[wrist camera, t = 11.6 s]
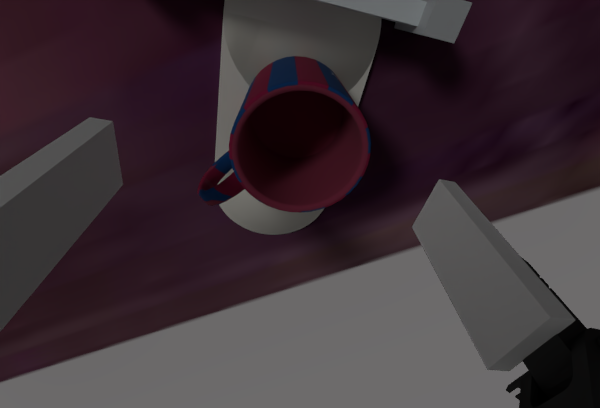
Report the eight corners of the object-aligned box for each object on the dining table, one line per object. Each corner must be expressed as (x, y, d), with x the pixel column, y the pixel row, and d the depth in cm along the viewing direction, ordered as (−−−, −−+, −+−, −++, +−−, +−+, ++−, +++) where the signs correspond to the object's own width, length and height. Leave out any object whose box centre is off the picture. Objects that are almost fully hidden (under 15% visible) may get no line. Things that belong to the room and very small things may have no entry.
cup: (359, 135, 21) (386, 185, 15) (234, 186, 23) (217, 247, 17) (326, 35, 17) (345, 52, 11) (181, 106, 19) (138, 149, 13)
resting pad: (230, -100, 14) (229, -102, 14) (405, -48, 15) (407, -48, 15) (211, 224, 25) (211, 226, 25) (314, 238, 26) (315, 240, 26)
